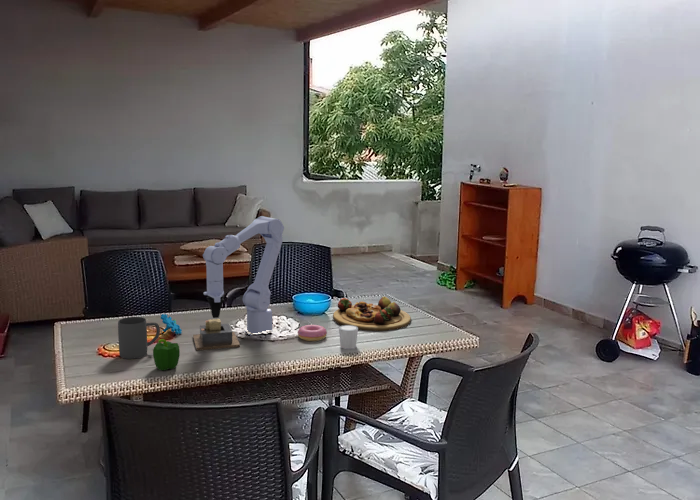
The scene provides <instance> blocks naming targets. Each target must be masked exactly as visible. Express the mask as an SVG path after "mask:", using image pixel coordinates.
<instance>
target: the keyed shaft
mask: <svg viewBox="0 0 700 500" xmlns="http://www.w3.org/2000/svg"><path fill="white" fill-rule="evenodd" d="M204 322H205V323H204V324H205V328H206V331H207V330H208V331H209V332H211V331H221V324H222V321H221V319H220V318H213V319H211V318H210V319H208V320H207V319H206V320H205V321H204Z"/></svg>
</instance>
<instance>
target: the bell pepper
mask: <svg viewBox="0 0 700 500" xmlns="http://www.w3.org/2000/svg"><path fill="white" fill-rule="evenodd" d="M180 351H181V350H180V345H179V344H178V343H177V342H171V341H169V340H166V339H164V338H160V339H158V340H157V343H156V344H155V346H154V347H153V349H152V357H153V360H154V365H155V367H156V368H157V370H159V371H168V370H173V369H175V368H176V367H177V366H178V364H179V360H180V354H181V353H180Z"/></svg>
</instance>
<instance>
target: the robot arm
mask: <svg viewBox="0 0 700 500" xmlns="http://www.w3.org/2000/svg"><path fill="white" fill-rule="evenodd" d="M284 230H285V226H284V225H283V222H282V221H281V220H280V219H279V218H273V217H267V216H263V215H261V216H258V217H257V218H255V219H253V221H252V222H251V223H250V224H249V225H247V226H246V227H245V228H243V229H242V230H241V231H239V232H238V233H237V234H235V235H233V234H227V235H225V237H224V238H223V239H222V240H221V241H219V242H217V241H216V242H215V243H214V245H209V246H207V247H206V248H205V250H204V252H203V254H202V257H203V260H204V261H205V266H206V267H205V268H206V291H204V292H203V295H204V296H207V297H206V299H207V302H208V304H209V307H210V313H211V316H212V318H213V319H220V314H221V308H222V306H223V303H224V302H225V299H224V294H225V291H224V264H223V263H224V262H225V261H226V259H227V257H228V256H230V255H231V254H232V253H235V252H236V251H237V250H239V249H240V247H241V244H242V243H244V242H245V241H247V240H249V239H251V238H253V237H254V236H256V235H258V234H260V236H261V237H262V238H263V239H264V240H265V243H266V244H265V247H264V251H263V254H262V256H261V259H260V263H259V266H258V269H257V273H256V275H255V279H254V282H253V283H251V284H250V285H249V286H248V287H247V290H246V291H245V292H244V294H243V296H242V302H243V304H244V306H245V309H246V328H247V330H248V331H249V332H251V333H258V332H262V331H266V330H272V331H273V313H272V309H271V308H269V307H270V304H271V294H272V293H271V290H270V289H269V285H270V282H271V278H272V275H273V273H274V269H275V266H276V262H277V260H278V256H279V253H280V250H281V247H282V244H283V233H284ZM248 335H250V336H252V335H251V334H248ZM248 335H247V336H248Z"/></svg>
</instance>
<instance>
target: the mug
mask: <svg viewBox="0 0 700 500" xmlns="http://www.w3.org/2000/svg"><path fill="white" fill-rule="evenodd" d="M150 326H155V328H156V329H155V330H156V334H155V336H154V337H153V338H152V339H151V340H149V341H148V329H147V327H150ZM160 328H161V327H160V325H159V324H158V323H157V322H147V319H146V318H145V317H141V316H129V317H124V318H121V319H119V320H118V322H117V331H118V332H117V336H118V351H119V352H118V353H119V357H120V358H122V359H127V360H134V359H135V360H136V359H140V358H143V357H146V356H147V355H148V346H149V347H150V346H151V345H153V344H154V343H155V342H156V341H158V340H159V337H160V334H161V329H160Z"/></svg>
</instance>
